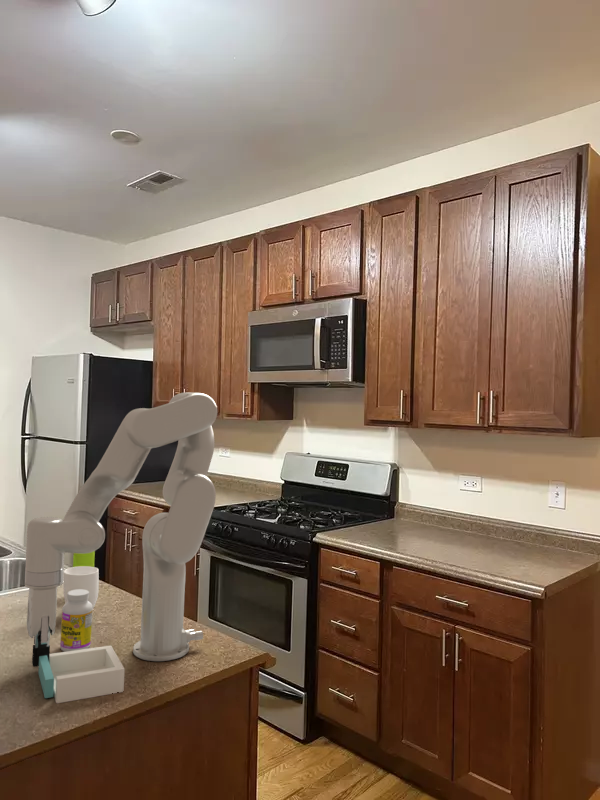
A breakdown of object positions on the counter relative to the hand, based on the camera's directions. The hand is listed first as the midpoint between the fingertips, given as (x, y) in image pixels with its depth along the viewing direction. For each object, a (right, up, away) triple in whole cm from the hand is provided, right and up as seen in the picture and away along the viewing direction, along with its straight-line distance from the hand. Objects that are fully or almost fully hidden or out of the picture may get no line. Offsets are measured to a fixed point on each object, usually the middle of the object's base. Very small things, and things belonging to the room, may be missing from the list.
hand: (40, 664), depth 132 cm
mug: (-4, -2, +36) cm, 36 cm away
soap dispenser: (-9, -2, +51) cm, 52 cm away
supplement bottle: (+3, -2, +13) cm, 13 cm away
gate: (+4, -1, -7) cm, 8 cm away
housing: (+11, -2, -5) cm, 12 cm away
